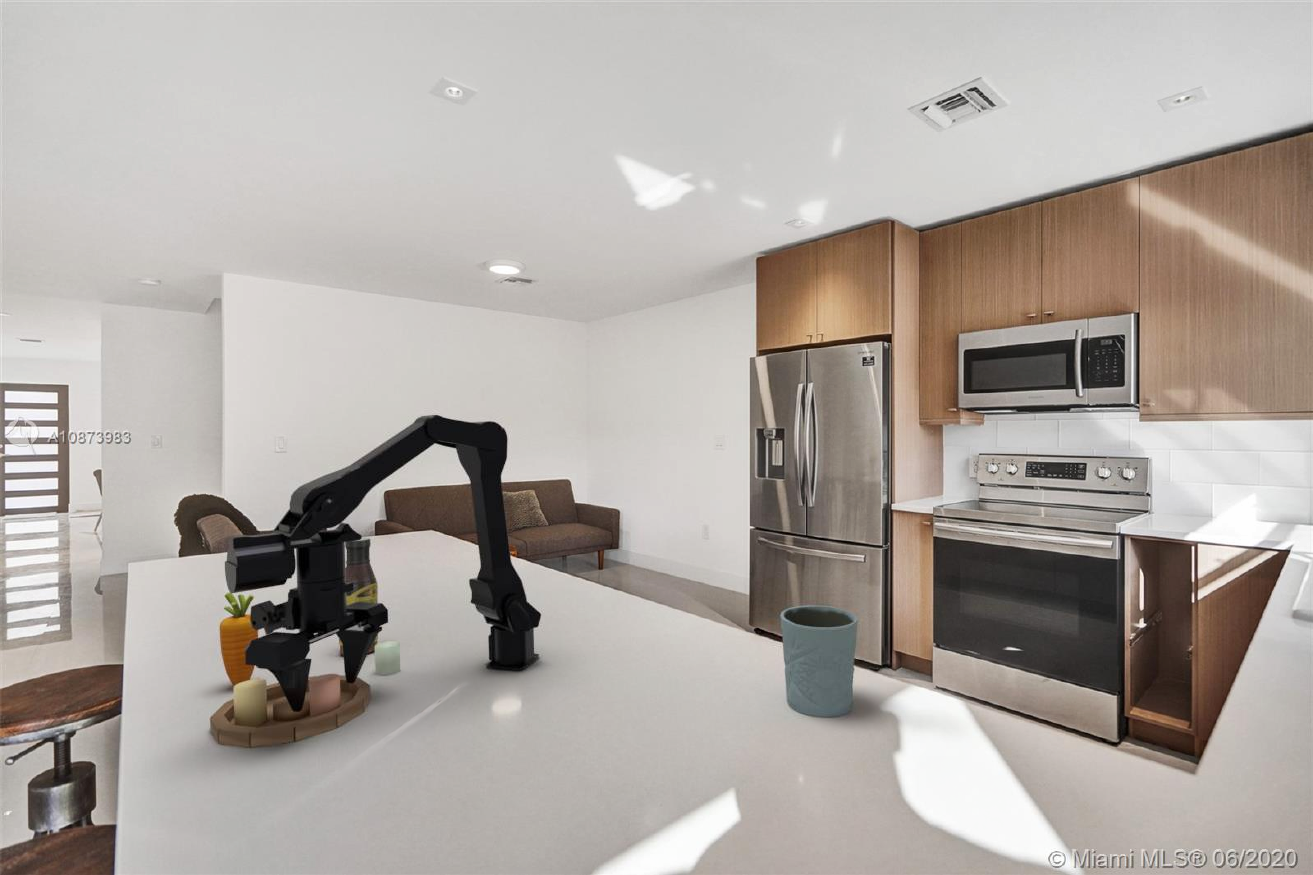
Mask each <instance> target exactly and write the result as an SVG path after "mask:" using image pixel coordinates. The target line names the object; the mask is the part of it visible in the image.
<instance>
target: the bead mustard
mask: <svg viewBox="0 0 1313 875" xmlns="http://www.w3.org/2000/svg"><path fill="white" fill-rule="evenodd" d="M266 686H267V680H266V679H264V678H255V679H250V680H247V681H244V682H241V683H238V684H236V685H235V686H233V689H232V690H233V699H234V725H238V726H246V727H256V726H258V725H261V724H263V723H264V722H266V721H267V690H266Z"/></svg>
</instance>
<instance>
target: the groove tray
mask: <svg viewBox="0 0 1313 875" xmlns="http://www.w3.org/2000/svg"><path fill="white" fill-rule="evenodd" d="M339 675H340V700H341V706H340V707H338V708H337V709H335V710H333V711H331V712H329V713H326V714H323V715H319V716H316V717H313V718H310V696H309V681H310V680H311V679H312V678H314V677H317V676H318V675H315V676H309V677H308V683H307V689H306V695H305V700H304V704H303V707H302V710H301V711H300V712H294V711H292V709H291V707H290V705H289V703H288V700H287V698H286V696H285V694H284V692H283V690H282V688H281V686H280V684H279V682H276V683H271V684H269V685H266V690H267V721H266V722H264V723H263V724H261V725H258V726H256V727H246V726H238V725H234V698H232V699H230V700H227V701H226V702H224V703H223V704H222V705H221V706H220V707H219V708H218V709H217V710H216V711H215V712H214V713H213V714H212V715H211V716H210V717H209V724H210V725H209V726H210V727H209V728H210V733H211V735H212V736H213V738H214V739H215V741H216V742H217V743H218V744H219V745H227V746H232V747H240V748H242V747H243V748H257V747H266V746H274V745H275V746H276V745H282V744H286V743H287V744H288V743H294V742H298V741H301V740H304V739H308V738H311V737H315V736H319V735H320V734H324V733H326V732H329V731H333V730H336V729H338V728H339V727H341V726H343V725H344V724H346V723H348V722H350V721H352V720H353V719H354V718H356V717H358V716H359V715H361V714H363V713H364V712H365V710H366V709H367V707H368V704H369V702H370V700H371V696H372V695H371V685H370V684H369V683H367V682H366V681H364V680H363V679H362V678H360V677H359V676H357V679H356V681H355V682H354V683H347V682H346V676H345V675H341V674H339Z"/></svg>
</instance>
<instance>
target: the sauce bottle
mask: <svg viewBox="0 0 1313 875" xmlns="http://www.w3.org/2000/svg"><path fill="white" fill-rule="evenodd" d="M371 544H372V543H371V538H369V537H362V538H361V539H360V540H356V541H349V542H345V550H346V560H345V567H346V582H353V590H352V591H349V592H346V599H347V605H350V604H353V603H356V602H367V603H379V601H378V599H379V598H378V592H379V591H378V590H379V589H378V587H379V586H378V582H377V578H376V575H375V574H374V571H373V568H372V564H371V563H370V562H371V559H370V548H371ZM378 641H379V634H378V635H377V637H376V639H375V641H374V643H373V644H372V646H371V648H370V650H369V652H368V654H369V653H372V652H375V645H376V644H378ZM338 644H339V652H340V655H342V656H343V644H342V642H341V640H340V639H339V638H338Z"/></svg>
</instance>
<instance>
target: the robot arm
mask: <svg viewBox="0 0 1313 875" xmlns="http://www.w3.org/2000/svg"><path fill="white" fill-rule="evenodd" d="M508 439H509V438H508V434H507V431H506V429H505V427H503V426H501V424H499V423H497V422H495V421H492V420H491V421H490V420H489V421H487V420H486V421H474V422H473V421H472V422H471V421H464V420H459V419H451V418H449V417H448V418H447V417H443V416H441V415H439V414H431V415H421V416H420V417H419V416H418V417H417V418H416V419H415V420H414V422H413V423H411V424H410V425H408V426H407V427H405V428H404V429H402V430H401V431H399V432H398V433H396V434H395V435H394V436H392V437H391V438H389V439H387V440H386V441H384V442H382V443H381V444H379V446H376V447H375V448H374V449H372V450H370V451H369V452H367V453H366V454H365V455H363V456H362V457H360V458H359V459H358V460H355V461H354V462H353V463H351V464H350V465H348V466H345V467H343V468H342V469H339V470H336V471H333V472H330V473H328V474H324V475H322V476H320V477H317V478H315V479H313V480H310V481H309V482H306V483H304V484H302V485H300V486H298V487H297V488H296V489H295V490H294V491H293V492H292V494H291V495H290V501H289V509H288V510H287V511H286V512H285V514H284V515H283V516H282V518H281V519H280V521H279V522H278V524H277V525H276V526H274V527H275V528H274V529H273V530H272V532H271V533H263V534H261V533H260V534H253V535H245V534H240V535H231V536H230V537H229V547H228V548H227V551H226V552H227V554H226V561H224V573H225V574H224V575H225V581H226V582H225V583H226V585H227V589H228V591H229V592H230V593H232V594H237V593H242V592H243V593H244V592H247V591H254V590H259V589H266V588H273V587H277V586H284V585H285V584H286V583H287V581H288V579H292V578H293V576H294V574H295V573H296V587H293V588H290V589H289V591H288V593H287V600H286V601H284V602H281V603H279V604H274V603H273V602H272V600H271V599H270V600H266V601H263V602H259V603H257V604H254V605H252V606H250V613H249V614H250V621H251V624H252V627H253V629H255V630H258V631H260V630H262V629H264V633H265V634H264V635H263V636H259V637H258V638H257V639H254V640H251V642H250V643H249V644H248V645H247V646H246V649H245V660H246V665H255V666H254V667H256V668H258V669H261V670H267V671H269V672H270V673H272V674H273V676H274V678H275V679H276V681H277V683H279V684H280V686H281V688H282V690H283V692H284V694H285V696H286V698H287V700H288V703H289V705H290V707H291V709H292V711H294V712H300V711H301V710H302V707H303V704H304V700H305V695H306V689H307V683H308V677H310V672H311V665H312V658H307V657H308V654H309V653H310V651H311V647H310V645H312V644H314V643H317V642H319V641H321V640H324V639H326V638H330V637H331V636H335V635H336V636H337V638H338V640H339V639H340V640H341V642H342V644H343V655H342V656H343V666H344V667H343V669H344V676H346V682H347V683H354V682H355V681H356V679H357V677H359V674H360V672H361V669H362V667H363V665H364V663H365V660H366V659H367V656H368V654H369V653H368V652H369V650H370V648H371V646H372V644H373V643H374V641H375V639H376V637H377V635H378V636H379V633H381V632H382V631H383V625H386V624H388V623H389V610H388V608H387V607H386V606H385V605H384V604H383V602H378V603H367V602H356V603H353V604H350V605H347V599H346V592H349V591H352V590H353V582H346V547H345V542H349V541H356V540H360V539H361V538H363V536H362V534H360V533H358V532H357V531H355V530H354V528H352V527H351V525H350V524H349V523H346V522H344V521H345V520H347V518H348V517H349V516H350V515H352V513H353V512H354V511H355V510H356V509H357V508H358V507H359V506H360V505H361V503H362V502H363V500H364V499H365V497H366V496H367V494H368V493H370V491H371V490H372V489H373V488H375V487H376V486H378V485H379V484H380V483H382V482H383V481H384V480H385V479H387V478H388V477H390V476H392V474H393V475H394V473H395V472H397V471H398V470H400V469H401V468H403V467H404V466H406V465H407V464H408V463H410V462H411V461H412V460H414V459H415V458H417V457H418V456H419V455H421V454H422V453H423V452H425V451H426V450H428V449H429V448H431V447H432V446H433V445H435V444H436V445H438V446H441V447H446V448H450V449H455V450H456V453H457V456H458V460H459V463H460V464H461V467H462V468H463V470H464V471H465V473H466V476H467V477H468V479H469V482H470V487H471V488H470V489H471V497H472V498H471V499H472V506H473V513H474V514H473V515H474V521H475V522H474V523H475V529H476V537H477V545H478V553H479V561H480V567H479V570H478V573H477V577H476V578H475V577H474V578H470V579H469V580H468V584H469V587H470V591H471V598H470V604H473V605H475V609H476V611H477V612H478V613H479V614H481V615H482V616H483V618H484V620H485V623H486V624H487V625H491V626H490V627H489V628H490V634H488V637H487V638H488V641H487V642H488V659H489V662H487V663H486V664H485V666H486V667H485V668H487V669H496V670H497V669H498V670H511V671H523V670H525V669H526V668H528V666H530V665H531V664H533V662H535V661H536V660H537V659H539V658H540V654H539V653H535V633H534V632H535V630H534V629H535V628H538V627H539V626H540V622H541V618H542V614H541V612H540V611H539V610H537V609H536V608H535V607H534V606H533V605H531V603H529V602H528V599H527V594H526V591H525V587H524V584H523V581H522V579H521V577H520V576H519V574H518V572H517V570H516V568H515V567H514V565H513V563H512V557H511V556H512V555H511V548H510V543H509V542H510V540H509V533H508V532H509V531H508V524H507V515H506V506H505V500H504V499H505V498H504V492H503V482H502V474H503V471H504V468H505V465H506V462H507V460H508V443H509V442H508ZM336 526H337V527H336ZM335 527H336V528H335ZM332 528H334V529H332ZM323 529H327V530H323ZM328 529H329V530H328ZM279 629H285V630H286V631H295V630H298V632H284V631H283V632H282V631H281V632H280V631H277V630H279Z"/></svg>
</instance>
